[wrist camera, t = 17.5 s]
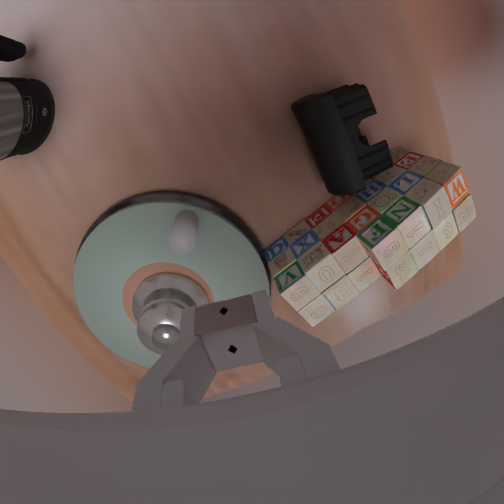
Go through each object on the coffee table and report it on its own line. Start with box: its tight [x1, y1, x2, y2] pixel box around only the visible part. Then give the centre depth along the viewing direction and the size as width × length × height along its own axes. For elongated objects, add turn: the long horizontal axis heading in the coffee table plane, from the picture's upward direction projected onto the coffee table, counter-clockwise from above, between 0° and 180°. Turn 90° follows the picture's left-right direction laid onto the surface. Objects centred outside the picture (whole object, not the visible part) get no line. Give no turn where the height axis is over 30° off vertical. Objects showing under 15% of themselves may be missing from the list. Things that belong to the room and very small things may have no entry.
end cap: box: [291, 83, 393, 195], centre depth 28 cm, size 10×7×7 cm
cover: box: [132, 272, 209, 355], centre depth 31 cm, size 9×9×6 cm
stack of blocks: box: [264, 148, 476, 327], centre depth 30 cm, size 21×6×12 cm, turn 128°
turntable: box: [73, 200, 270, 368], centre depth 32 cm, size 24×24×6 cm
